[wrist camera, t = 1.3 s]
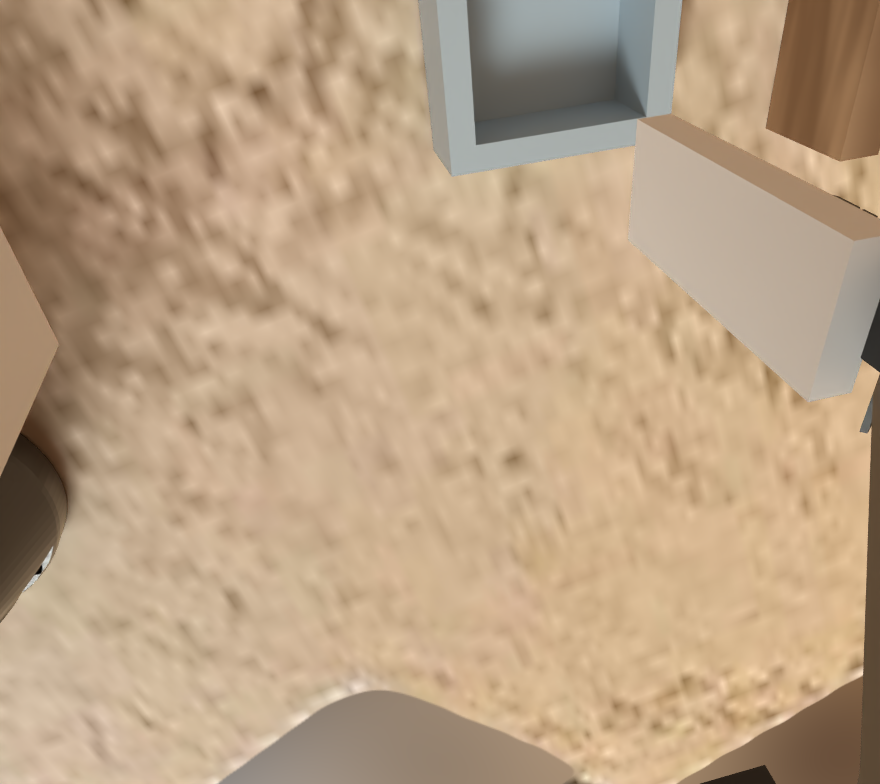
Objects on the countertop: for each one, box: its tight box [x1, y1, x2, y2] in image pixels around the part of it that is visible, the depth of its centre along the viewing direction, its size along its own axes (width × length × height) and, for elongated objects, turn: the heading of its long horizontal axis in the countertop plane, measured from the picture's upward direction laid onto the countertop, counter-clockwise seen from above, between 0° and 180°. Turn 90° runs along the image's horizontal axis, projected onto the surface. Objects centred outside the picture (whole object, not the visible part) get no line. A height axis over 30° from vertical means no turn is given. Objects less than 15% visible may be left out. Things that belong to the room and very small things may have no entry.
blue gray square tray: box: [418, 0, 682, 177], centre depth 30 cm, size 10×10×4 cm
